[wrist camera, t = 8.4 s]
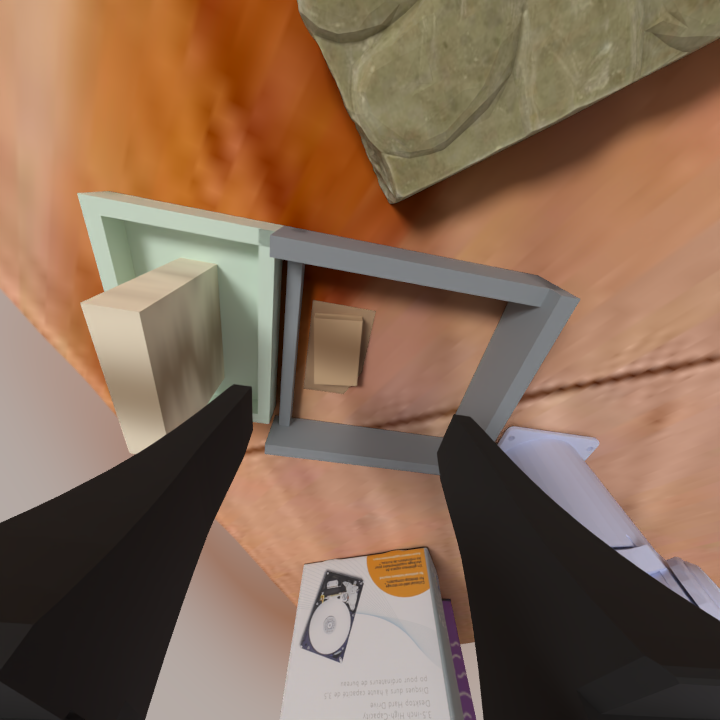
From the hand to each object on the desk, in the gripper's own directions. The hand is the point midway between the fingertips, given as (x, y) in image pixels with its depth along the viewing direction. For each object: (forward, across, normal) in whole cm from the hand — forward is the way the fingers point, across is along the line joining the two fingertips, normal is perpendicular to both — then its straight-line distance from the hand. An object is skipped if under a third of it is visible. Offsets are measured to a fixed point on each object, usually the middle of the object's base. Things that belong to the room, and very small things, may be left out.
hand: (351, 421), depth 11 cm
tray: (+10, +9, +2) cm, 14 cm away
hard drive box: (+10, -7, +33) cm, 35 cm away
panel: (+9, +9, +2) cm, 13 cm away
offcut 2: (+10, +1, +3) cm, 10 cm away
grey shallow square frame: (+10, -3, +3) cm, 11 cm away
